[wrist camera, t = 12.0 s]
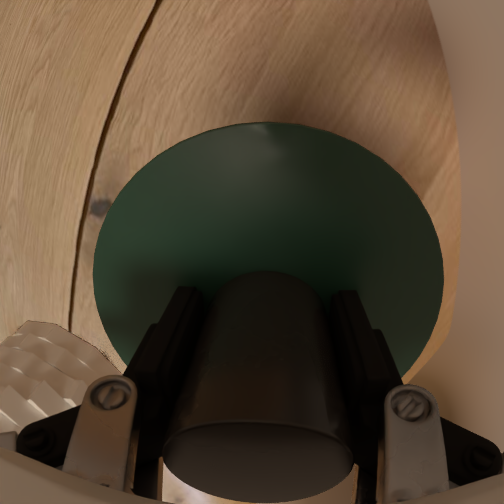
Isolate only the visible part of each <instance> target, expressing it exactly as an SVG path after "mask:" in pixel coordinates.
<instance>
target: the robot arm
mask: <svg viewBox="0 0 504 504" xmlns="http://www.w3.org/2000/svg"><path fill="white" fill-rule="evenodd" d="M204 317H205V313H204V303H203V294H202V292H201V291H197V289H196V287H189V286H178V287H177V289H176V291H175V293H174V294H173V296H172V298H171V300H170V302H169V303H168V305H167V307H166V309H165V311H164V313H163V315H162V316H161V318H160V320H159V322H158V323H153V324H151V325H150V326H149V328H148V330H147V332H146V333H145V335H144V337H143V339H142V341H141V342H140V344H139V346H138V348H137V350H136V352H135V353H134V355H133V357H132V359H131V361H130V363H129V365H128V366H127V368H126V370H125V372H124V374H123V376H122V375H107V376H104V377H100V378H99V379H97V380H95V381H94V382H92V383H91V384H90V385H89V386H88V388H87V390H86V392H85V395H84V398H83V401H82V404H81V405H78V406H76V407H73V408H71V409H68V410H65V411H63V412H60V413H57V414H55V415H52V416H49V417H46V418H44V419H41V420H38V421H35V422H32V423H31V424H29V425H27V426H25V427H24V428H23V429H22V430H21V432H20V433H19V434H18V433H17V432H16V431H11V432H3V433H0V504H173V503H168V502H163V501H162V483H163V458H162V453H161V448H162V444H163V441H164V438H165V434H166V431H167V428H168V425H169V422H170V419H171V416H172V413H173V410H174V407H175V403H176V400H177V397H178V394H179V391H180V388H181V385H182V382H183V379H184V376H185V373H186V370H187V367H188V364H189V361H190V358H191V355H192V352H193V349H194V346H195V343H196V341H197V338H198V335H199V332H200V329H201V326H202V323H203V320H204ZM328 321H329V326H330V330H331V335H332V339H333V344H334V348H335V353H336V358H337V363H338V368H339V372H340V377H341V382H342V388H343V393H344V398H345V403H346V409H347V414H348V420H349V425H350V431H351V437H352V443H353V449H354V456H355V460H354V463H355V472H354V482H353V491H352V500H351V504H504V452H503V453H501V452H500V450H499V448H498V447H497V446H496V445H495V444H494V443H493V442H491V441H489V440H487V439H485V438H483V437H481V436H479V435H477V434H475V433H473V432H471V431H468V430H466V429H464V428H462V427H460V426H458V425H456V424H454V423H452V422H450V421H448V420H446V419H444V418H442V417H440V415H439V409H438V405H437V402H436V399H435V397H434V396H433V395H432V394H431V393H430V392H429V391H427V390H426V389H424V388H422V387H419V386H417V385H410V384H406V385H403V382H402V379H401V377H400V374H399V372H398V369H397V367H396V364H395V362H394V359H393V357H392V354H391V352H390V349H389V347H388V344H387V342H386V340H385V337H384V335H383V333H382V331H381V330H380V329H372V327H371V324H370V322H369V319H368V317H367V314H366V312H365V310H364V307H363V305H362V302H361V300H360V298H359V295H358V293H357V291H356V290H339V291H338V294H333V295H332V298H331V305H330V312H329V319H328Z"/></svg>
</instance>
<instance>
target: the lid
mask: <svg viewBox="0 0 504 504" xmlns="http://www.w3.org/2000/svg"><path fill="white" fill-rule="evenodd" d="M93 285H94V295H95V300H96V305H97V309H98V313H99V316H100V319H101V322H102V324H103V327H104V330H105V332H106V334H107V336H108V338H109V340H110V342H111V343H112V345H113V347H114V349H115V350H116V352H117V353H118V354H119V356H120V357H121V359H122V360H123V362H124V363H125V364H126V365H127V366H128V365H129V363H130V361H131V359H132V357H133V355H134V353H135V352H136V350H137V348H138V346H139V344H140V342H141V341H142V339H143V337H144V335H145V333H146V332H147V330H148V328H149V326H150V325H151V324H153V323H158V322H159V320H160V318H161V316H162V315H163V313H164V311H165V309H166V307H167V305H168V303H169V302H170V300H171V298H172V296H173V294H174V293H175V291H176V289H177V287H178V286H189V287H196V289H197V291H201V292H202V294H203V303H204V313H205V317H204V320H203V323H202V326H201V329H200V332H199V335H198V338H197V341H196V343H195V346H194V349H193V352H192V355H191V358H190V361H189V364H188V367H187V370H186V373H185V376H184V379H183V382H182V385H181V388H180V391H179V394H178V397H177V400H176V403H175V407H174V410H173V413H172V416H171V419H170V422H169V425H168V428H167V431H166V434H165V438H164V441H163V444H162V448H161V453H162V458H163V461H164V463H165V465H166V467H167V468H168V469H169V470H170V471H171V473H173V474H174V475H175V476H176V477H177V478H178V479H180V480H181V481H183V482H184V483H186V484H188V485H189V486H191V487H193V488H195V489H198V490H200V491H202V492H205V493H207V494H210V495H214V496H217V497H221V498H225V499H229V500H234V501H241V502H251V503H279V502H288V501H294V500H299V499H303V498H308V497H311V496H314V495H317V494H320V493H322V492H325V491H327V490H329V489H331V488H333V487H334V486H336V485H338V484H339V483H340V482H342V481H343V480H344V479H345V478H346V477H347V476H348V475H349V473H350V472H351V470H352V467H353V465H354V460H355V456H354V449H353V443H352V437H351V431H350V425H349V420H348V414H347V409H346V403H345V398H344V393H343V388H342V382H341V377H340V372H339V368H338V363H337V358H336V353H335V348H334V344H333V339H332V335H331V330H330V326H329V321H328V319H329V312H330V305H331V298H332V295H333V294H338V291H339V290H356V291H357V293H358V295H359V298H360V300H361V302H362V305H363V307H364V310H365V312H366V314H367V317H368V319H369V322H370V324H371V327H372V329H380V330H381V331H382V333H383V335H384V337H385V340H386V342H387V344H388V347H389V349H390V352H391V354H392V357H393V359H394V362H395V364H396V367H397V369H398V372H399V374H400V377H401V378H402V377H403V376H404V375H405V374H406V372H407V371H408V370H409V369H410V368H411V367H412V365H413V364H414V363H415V361H416V360H417V359H418V357H419V356H420V354H421V353H422V351H423V349H424V348H425V346H426V344H427V342H428V340H429V339H430V336H431V334H432V332H433V329H434V327H435V324H436V322H437V319H438V315H439V311H440V307H441V303H442V295H443V285H444V272H443V258H442V253H441V248H440V244H439V239H438V236H437V233H436V231H435V228H434V225H433V223H432V220H431V218H430V216H429V214H428V212H427V210H426V209H425V207H424V205H423V204H422V202H421V200H420V199H419V197H418V195H417V194H416V193H415V192H414V190H413V189H412V188H411V187H410V186H409V184H408V183H407V182H406V181H405V180H404V178H403V177H402V176H401V175H400V174H399V173H398V172H396V171H395V170H394V169H393V168H392V167H391V166H390V165H388V164H387V163H386V162H385V161H384V160H383V159H381V158H380V157H378V156H377V155H375V154H374V153H372V152H371V151H369V150H367V149H366V148H364V147H362V146H361V145H359V144H357V143H356V142H353V141H351V140H348V139H346V138H344V137H341V136H339V135H336V134H334V133H332V132H329V131H325V130H321V129H317V128H313V127H309V126H305V125H300V124H292V123H280V122H254V123H241V124H234V125H230V126H225V127H221V128H217V129H212V130H208V131H206V132H203V133H200V134H198V135H195V136H193V137H190V138H188V139H186V140H183V141H181V142H179V143H177V144H176V145H174V146H172V147H170V148H169V149H167V150H165V151H164V152H162V153H161V154H159V155H157V156H156V157H155V158H153V159H152V160H151V161H150V162H149V163H147V164H146V165H145V166H144V167H143V168H142V169H140V170H139V171H138V172H137V173H136V174H135V175H134V176H133V177H132V179H131V180H130V181H129V182H128V183H127V184H126V185H125V187H124V188H123V189H122V190H121V191H120V193H119V194H118V196H117V198H116V199H115V201H114V202H113V204H112V206H111V207H110V209H109V211H108V213H107V215H106V217H105V220H104V222H103V225H102V227H101V230H100V232H99V236H98V240H97V244H96V249H95V253H94V264H93Z"/></svg>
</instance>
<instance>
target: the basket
mask: <svg viewBox="0 0 504 504" xmlns="http://www.w3.org/2000/svg"><path fill="white" fill-rule="evenodd" d="M107 375H122V374H121V373H120V372H119V371H118V370H117V369H116V368H115V367H114V366H113V365H112V364H111V363H110V362H109V361H108V360H107V359H106V358H105V357H104V356H103V355H102V354H101V353H100V352H99V351H98V349H97V348H96V347H94V346H92V345H90V344H89V343H87V342H85V341H83V340H82V339H80V338H78V337H76V336H75V335H73V334H71V333H70V332H68V331H66V330H65V329H63V328H61V327H60V326H58V325H57V324H50V323H42V322H34V321H26V322H25V323H24V324H23V325H22V327H21V328H20V329H19V330H18V331H17V332H16V333H15V334H14V335H13V336H8V337H7V338H6V339H5V340H4V341H3V342H2V344H1V345H0V433H3V432H11V431H16V432H17V433H18V434H19V433H20V432H21V430H22V429H23V428H24V427H25V426H27V425H29V424H31V423H32V422H35V421H38V420H41V419H44V418H46V417H49V416H52V415H55V414H57V413H60V412H63V411H65V410H68V409H71V408H73V407H76V406H78V405H81V404H82V401H83V398H84V395H85V392H86V390H87V388H88V386H89V385H90V384H91V383H92V382H94V381H95V380H97V379H99V378H100V377H104V376H107ZM122 376H123V375H122Z"/></svg>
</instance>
